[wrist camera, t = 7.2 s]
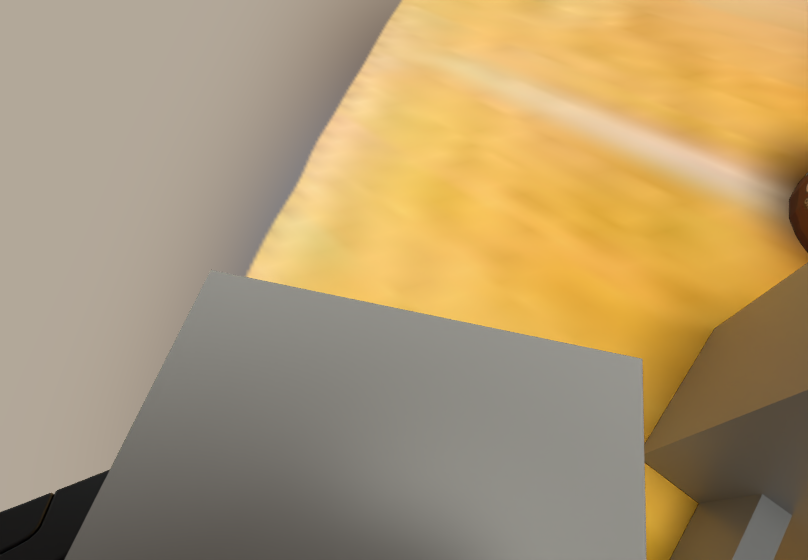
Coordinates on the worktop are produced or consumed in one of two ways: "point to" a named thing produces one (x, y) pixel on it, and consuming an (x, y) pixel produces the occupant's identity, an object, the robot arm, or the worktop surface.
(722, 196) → the worktop surface
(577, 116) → the worktop surface
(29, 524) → the robot arm
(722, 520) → the coffee machine bay
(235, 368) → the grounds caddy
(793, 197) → the food container
